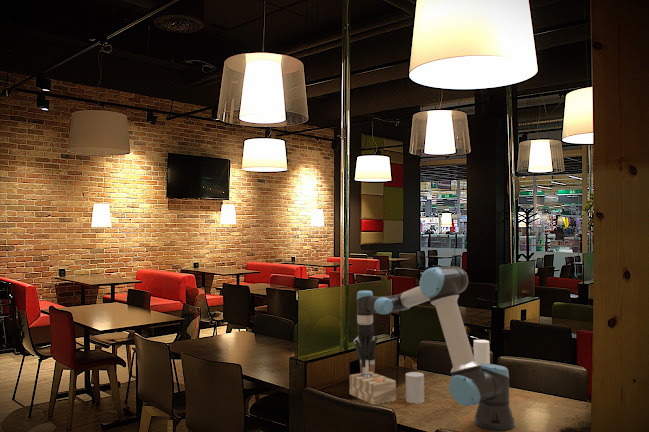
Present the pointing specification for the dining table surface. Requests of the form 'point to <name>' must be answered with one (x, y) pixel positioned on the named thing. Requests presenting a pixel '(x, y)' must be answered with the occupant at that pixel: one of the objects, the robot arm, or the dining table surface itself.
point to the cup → (415, 387)
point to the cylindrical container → (482, 351)
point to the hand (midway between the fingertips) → (365, 373)
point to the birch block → (372, 388)
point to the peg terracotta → (378, 379)
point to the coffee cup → (372, 365)
